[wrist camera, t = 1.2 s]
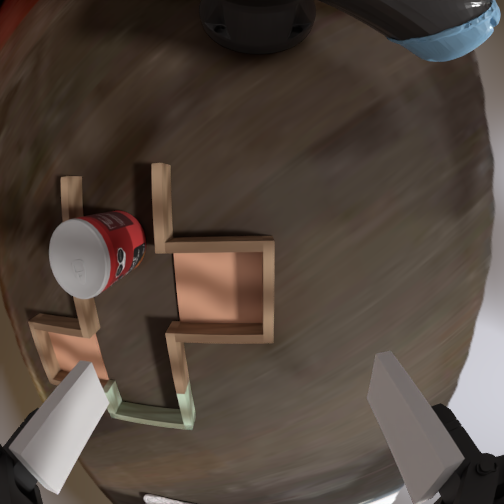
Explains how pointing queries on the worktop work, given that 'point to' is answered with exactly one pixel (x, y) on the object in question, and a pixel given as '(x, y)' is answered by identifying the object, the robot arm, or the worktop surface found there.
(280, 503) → the worktop surface
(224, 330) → the channel
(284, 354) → the worktop surface
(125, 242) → the canned food
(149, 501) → the cookie jar
